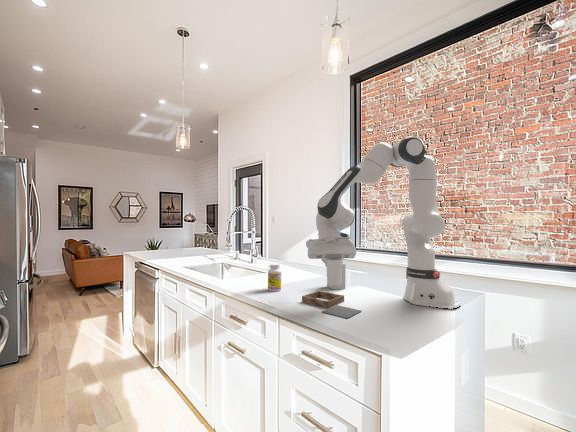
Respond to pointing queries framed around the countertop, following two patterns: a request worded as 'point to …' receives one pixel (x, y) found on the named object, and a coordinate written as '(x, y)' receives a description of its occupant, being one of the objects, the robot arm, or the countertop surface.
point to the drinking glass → (334, 270)
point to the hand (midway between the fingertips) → (334, 265)
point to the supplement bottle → (274, 277)
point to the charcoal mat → (341, 311)
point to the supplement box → (342, 280)
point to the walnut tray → (327, 304)
